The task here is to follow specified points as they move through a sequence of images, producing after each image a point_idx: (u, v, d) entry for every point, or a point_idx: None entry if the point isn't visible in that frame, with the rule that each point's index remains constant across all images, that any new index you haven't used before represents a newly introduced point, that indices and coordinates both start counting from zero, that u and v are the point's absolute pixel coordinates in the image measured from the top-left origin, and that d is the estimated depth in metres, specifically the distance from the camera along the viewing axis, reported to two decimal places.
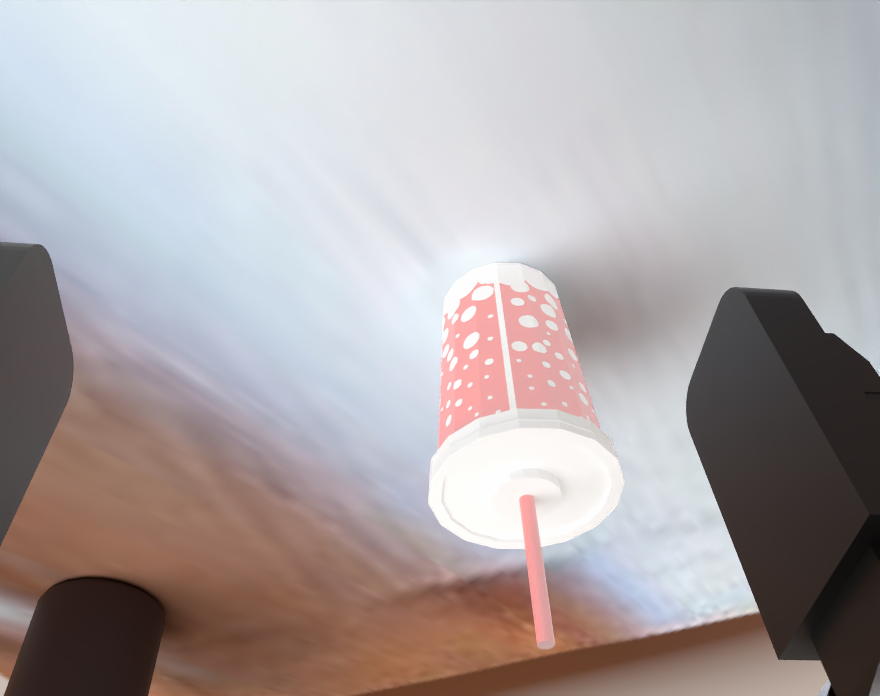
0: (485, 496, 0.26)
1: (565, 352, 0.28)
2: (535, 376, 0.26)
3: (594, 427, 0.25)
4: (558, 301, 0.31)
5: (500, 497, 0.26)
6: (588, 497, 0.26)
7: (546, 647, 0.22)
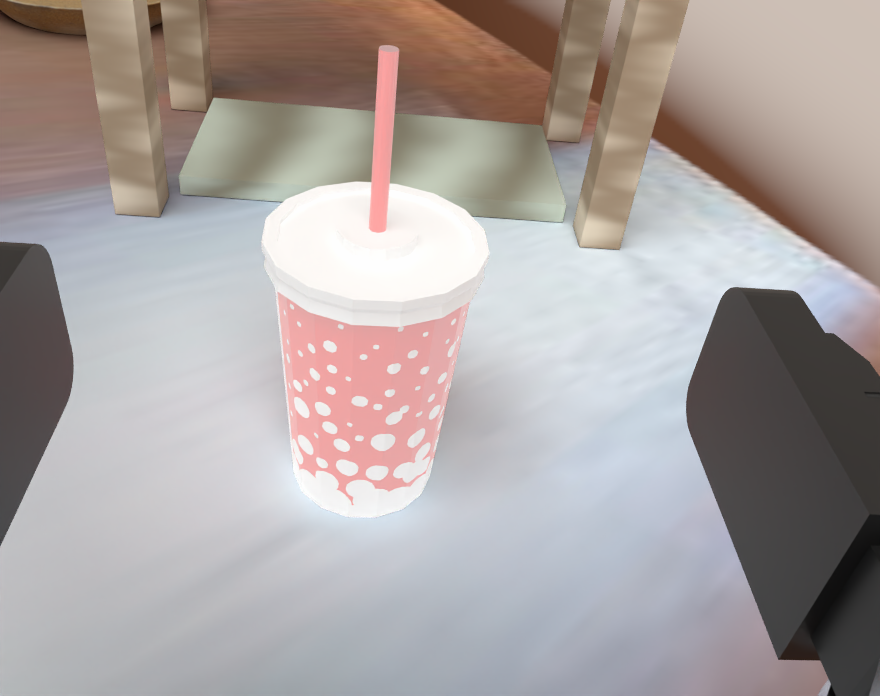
0: (390, 264, 0.22)
1: None
2: None
3: None
4: None
5: (374, 243, 0.22)
6: None
7: (393, 48, 0.19)
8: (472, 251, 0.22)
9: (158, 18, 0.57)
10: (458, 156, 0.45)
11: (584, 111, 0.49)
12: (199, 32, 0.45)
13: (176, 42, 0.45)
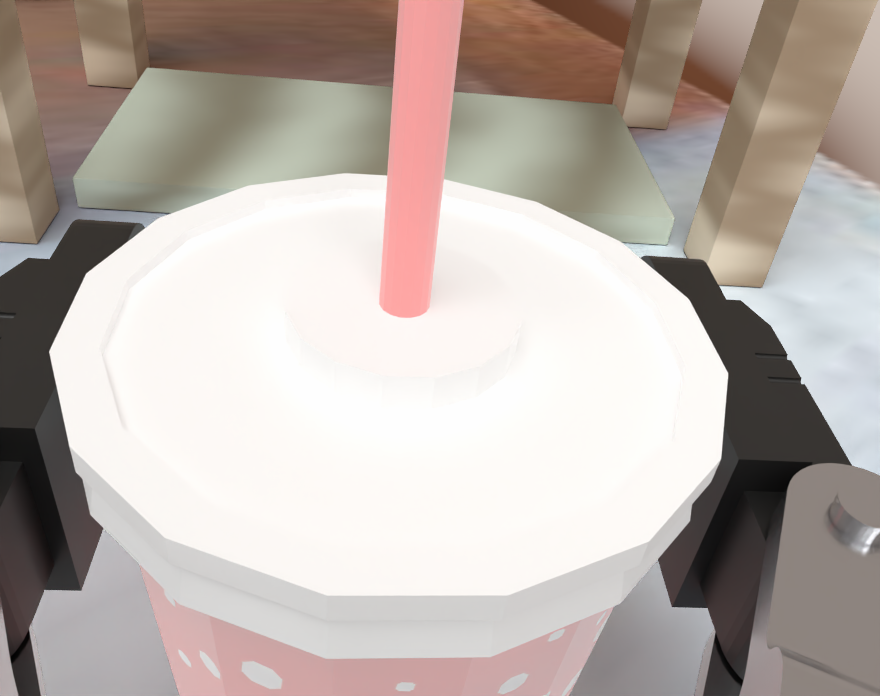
0: (447, 421, 0.07)
1: None
2: None
3: None
4: None
5: (396, 357, 0.07)
6: None
7: None
8: (676, 367, 0.08)
9: None
10: (503, 147, 0.30)
11: (676, 84, 0.34)
12: None
13: None
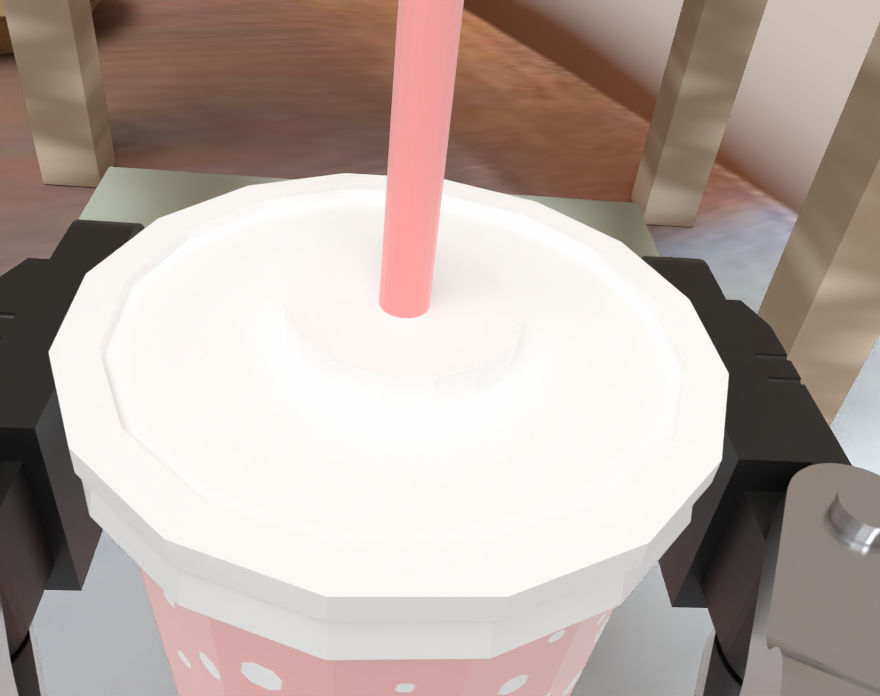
0: (448, 423, 0.07)
1: None
2: None
3: None
4: None
5: (397, 358, 0.07)
6: None
7: None
8: (676, 367, 0.08)
9: None
10: None
11: (705, 180, 0.31)
12: (76, 62, 0.27)
13: (39, 79, 0.27)
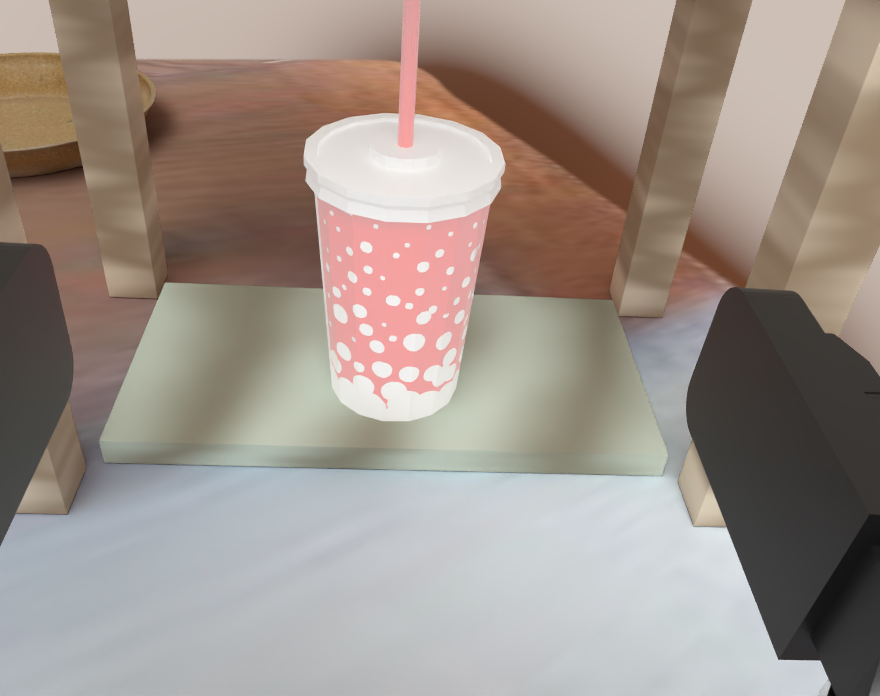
0: (418, 173, 0.24)
1: None
2: None
3: None
4: None
5: (403, 155, 0.24)
6: None
7: None
8: (490, 163, 0.25)
9: None
10: (504, 367, 0.32)
11: (670, 280, 0.36)
12: (140, 202, 0.33)
13: (109, 216, 0.33)
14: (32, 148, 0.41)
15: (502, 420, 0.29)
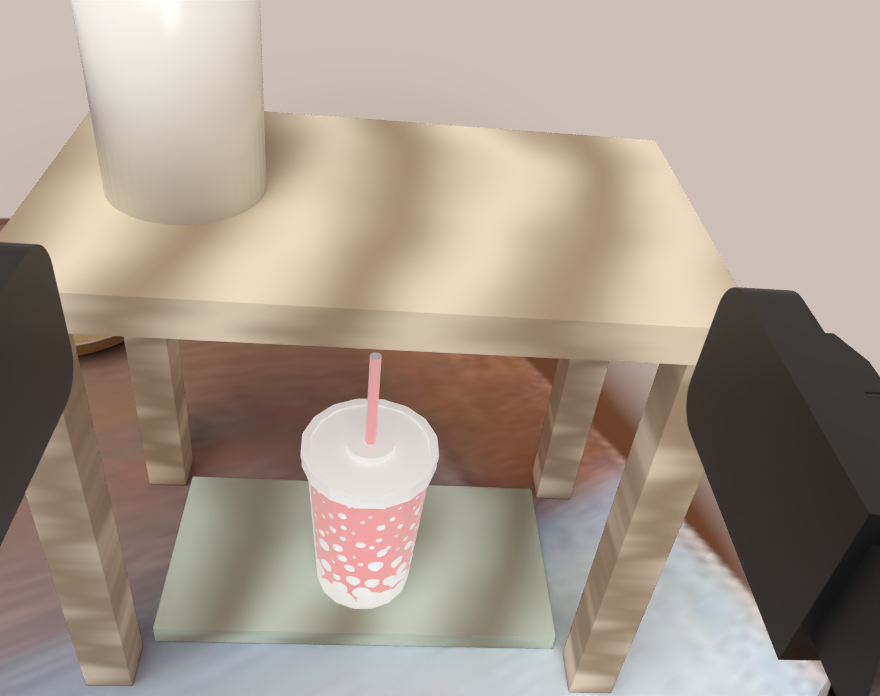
0: (378, 466, 0.36)
1: None
2: None
3: None
4: None
5: (368, 454, 0.36)
6: None
7: (378, 355, 0.33)
8: (428, 454, 0.37)
9: None
10: (444, 557, 0.43)
11: (575, 475, 0.47)
12: (176, 426, 0.44)
13: (153, 434, 0.44)
14: (85, 343, 0.52)
15: (439, 606, 0.41)
